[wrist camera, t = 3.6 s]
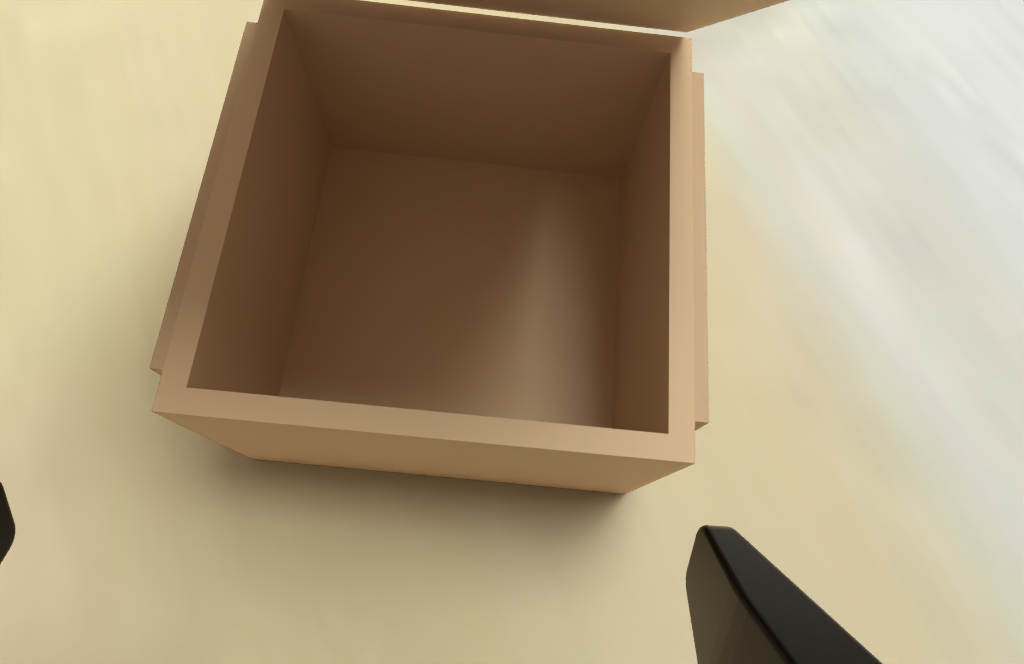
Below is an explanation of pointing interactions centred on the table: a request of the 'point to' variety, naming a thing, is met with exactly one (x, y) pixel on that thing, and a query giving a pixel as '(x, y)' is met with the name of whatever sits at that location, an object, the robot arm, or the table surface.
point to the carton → (448, 250)
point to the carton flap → (627, 10)
